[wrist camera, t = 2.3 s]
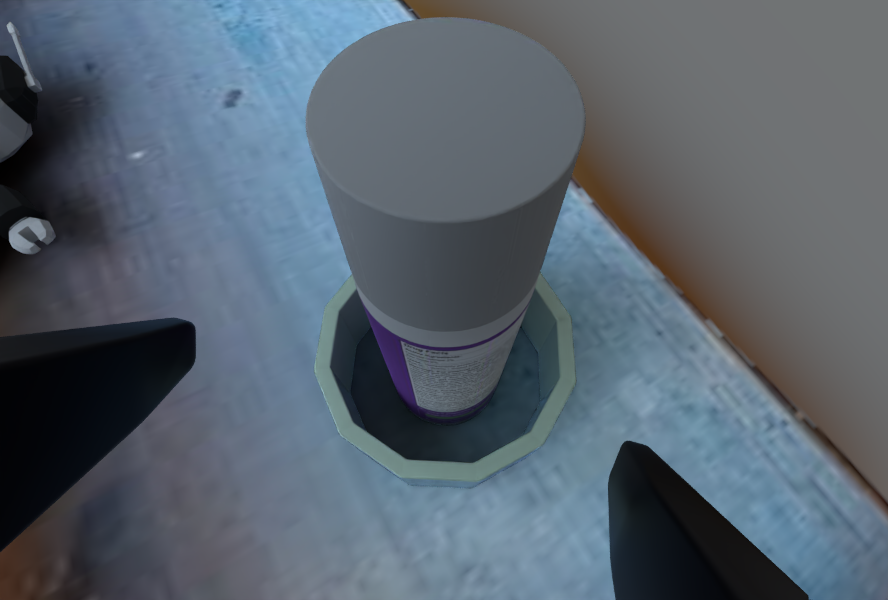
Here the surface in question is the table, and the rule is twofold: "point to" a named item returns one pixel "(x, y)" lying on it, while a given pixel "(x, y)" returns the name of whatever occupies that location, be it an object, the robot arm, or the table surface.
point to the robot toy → (3, 133)
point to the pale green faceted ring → (556, 383)
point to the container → (445, 194)
